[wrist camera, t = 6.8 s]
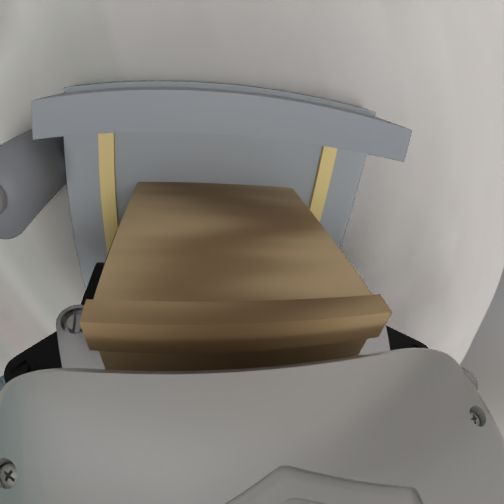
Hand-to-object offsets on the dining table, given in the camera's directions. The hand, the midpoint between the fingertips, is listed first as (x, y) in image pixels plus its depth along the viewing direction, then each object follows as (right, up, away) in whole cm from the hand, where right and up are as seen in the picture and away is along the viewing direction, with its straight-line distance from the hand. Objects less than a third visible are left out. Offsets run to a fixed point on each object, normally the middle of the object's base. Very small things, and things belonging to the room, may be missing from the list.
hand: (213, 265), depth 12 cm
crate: (0, +1, +1) cm, 1 cm away
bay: (-2, -2, +3) cm, 4 cm away
